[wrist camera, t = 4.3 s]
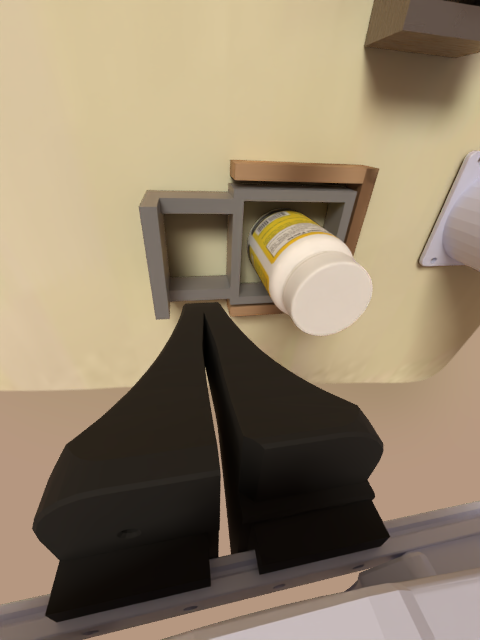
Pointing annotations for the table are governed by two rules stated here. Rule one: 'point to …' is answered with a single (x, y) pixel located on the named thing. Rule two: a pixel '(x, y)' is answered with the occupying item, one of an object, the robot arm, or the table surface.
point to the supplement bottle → (308, 272)
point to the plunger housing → (425, 26)
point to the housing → (353, 175)
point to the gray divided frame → (233, 205)
